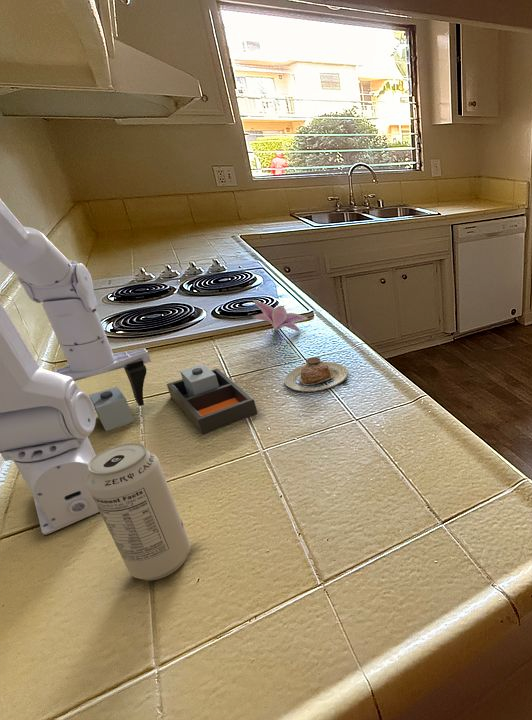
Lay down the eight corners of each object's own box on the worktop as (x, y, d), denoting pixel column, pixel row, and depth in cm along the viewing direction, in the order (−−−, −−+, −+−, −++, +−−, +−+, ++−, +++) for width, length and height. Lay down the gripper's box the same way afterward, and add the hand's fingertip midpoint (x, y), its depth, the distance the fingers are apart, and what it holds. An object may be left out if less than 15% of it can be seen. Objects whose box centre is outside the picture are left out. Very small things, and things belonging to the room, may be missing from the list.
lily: (315, 343, 110) (314, 303, 111) (269, 340, 100) (268, 296, 101) (285, 347, 117) (285, 309, 118) (239, 345, 107) (239, 304, 108)
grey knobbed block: (135, 424, 78) (124, 395, 76) (107, 434, 75) (94, 404, 73) (127, 410, 82) (116, 383, 79) (99, 419, 79) (87, 391, 77)
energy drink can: (203, 542, 56) (166, 440, 49) (170, 586, 50) (123, 478, 44) (156, 539, 56) (112, 438, 49) (118, 583, 51) (63, 475, 44)
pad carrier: (258, 416, 80) (254, 399, 79) (203, 437, 75) (197, 420, 73) (222, 383, 91) (217, 367, 89) (171, 399, 85) (166, 383, 83)
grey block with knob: (222, 398, 84) (214, 371, 82) (198, 407, 82) (190, 379, 79) (210, 387, 88) (203, 361, 86) (187, 395, 85) (179, 368, 83)
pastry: (280, 375, 94) (276, 354, 92) (340, 362, 99) (337, 342, 97) (291, 401, 84) (286, 379, 82) (355, 385, 90) (353, 364, 88)
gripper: (131, 319, 79) (156, 388, 85) (17, 344, 69) (54, 420, 76) (142, 330, 74) (167, 402, 81) (22, 359, 65) (61, 438, 71)
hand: (113, 412), depth 78 cm, fingers open, 7 cm apart
